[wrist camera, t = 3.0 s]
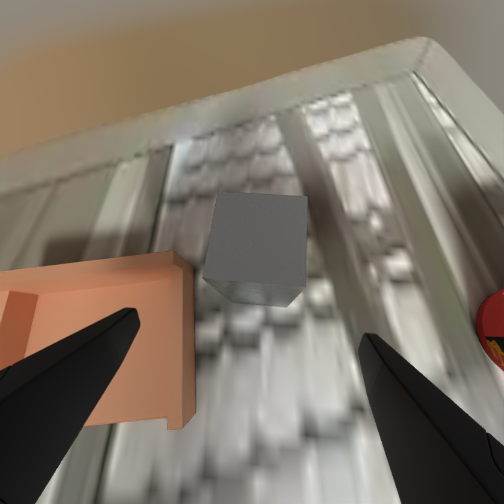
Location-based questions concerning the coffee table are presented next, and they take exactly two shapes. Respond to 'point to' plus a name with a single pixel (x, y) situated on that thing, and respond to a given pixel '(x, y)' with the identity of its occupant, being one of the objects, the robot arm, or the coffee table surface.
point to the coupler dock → (100, 306)
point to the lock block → (258, 248)
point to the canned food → (492, 327)
